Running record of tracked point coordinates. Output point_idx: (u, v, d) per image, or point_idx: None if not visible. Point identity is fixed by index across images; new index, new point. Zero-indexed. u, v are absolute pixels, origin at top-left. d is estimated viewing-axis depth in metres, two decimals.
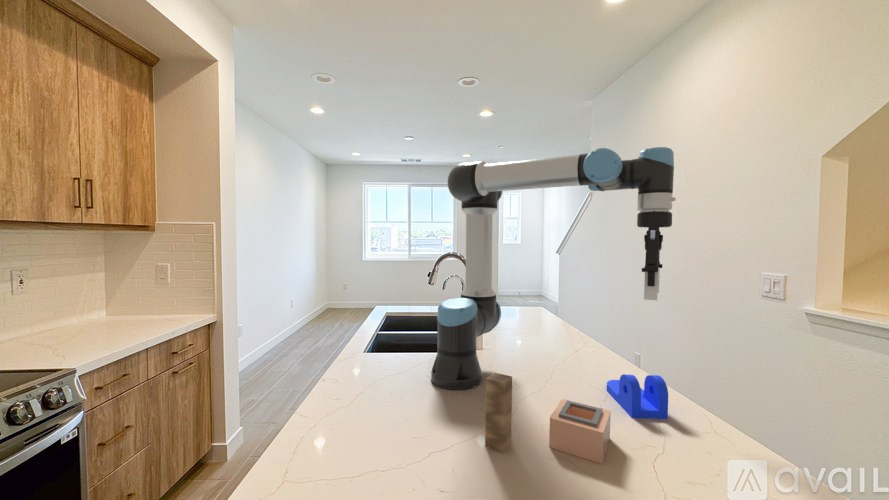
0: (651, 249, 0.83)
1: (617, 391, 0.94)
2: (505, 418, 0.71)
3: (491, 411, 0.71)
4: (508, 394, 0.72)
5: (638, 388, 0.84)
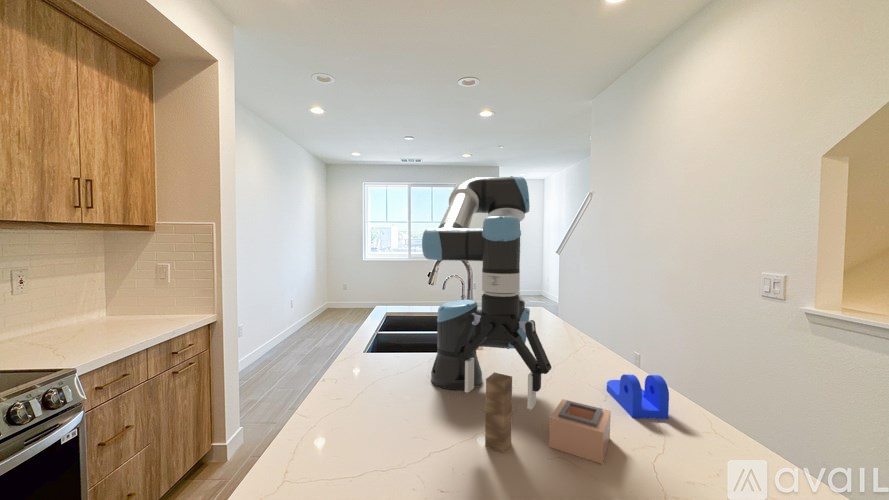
0: None
1: (617, 391, 0.94)
2: (505, 418, 0.71)
3: (491, 411, 0.71)
4: (508, 394, 0.72)
5: (638, 388, 0.84)
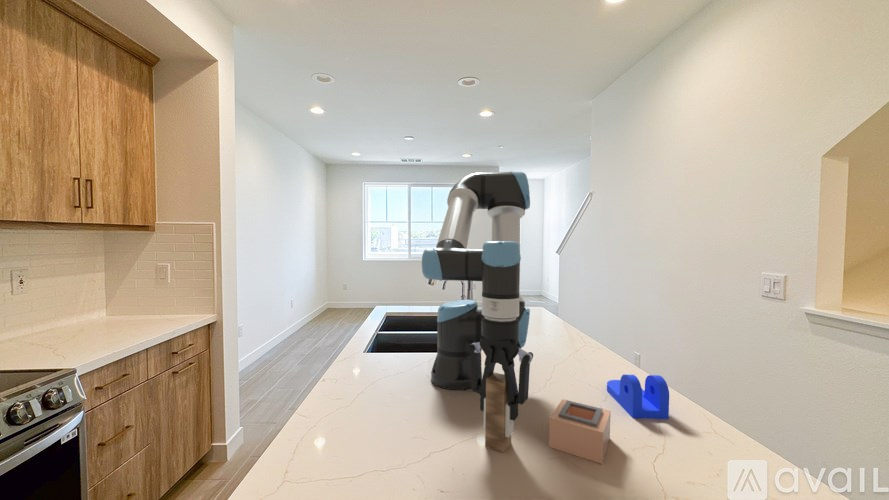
0: None
1: (617, 391, 0.94)
2: None
3: (491, 411, 0.71)
4: None
5: (639, 389, 0.84)
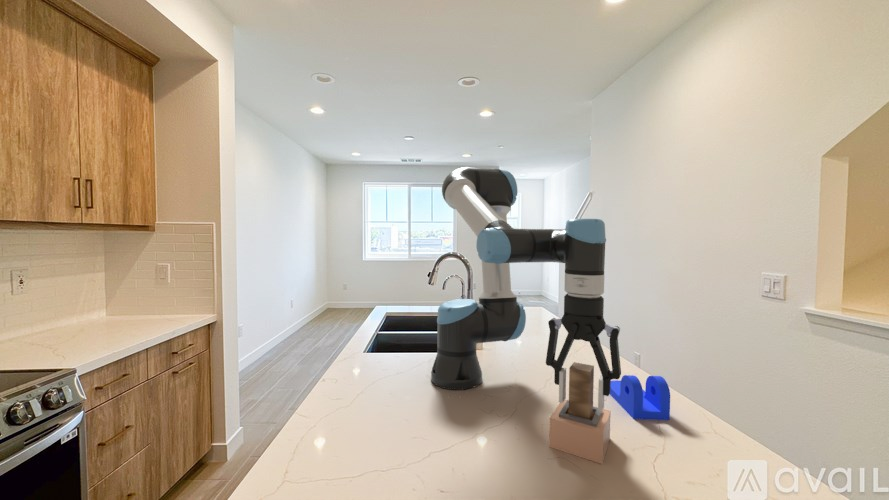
0: None
1: (618, 392, 0.94)
2: (590, 406, 0.72)
3: (574, 399, 0.72)
4: (591, 383, 0.72)
5: (640, 389, 0.84)
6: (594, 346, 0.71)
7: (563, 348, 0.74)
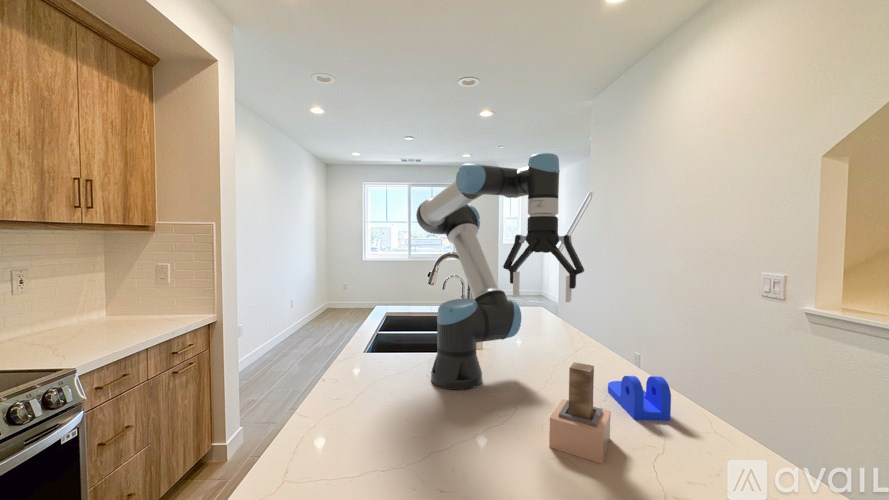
0: None
1: (619, 392, 0.93)
2: (590, 406, 0.72)
3: (574, 399, 0.72)
4: (591, 383, 0.72)
5: (640, 390, 0.83)
6: (554, 253, 0.88)
7: (521, 256, 0.93)
